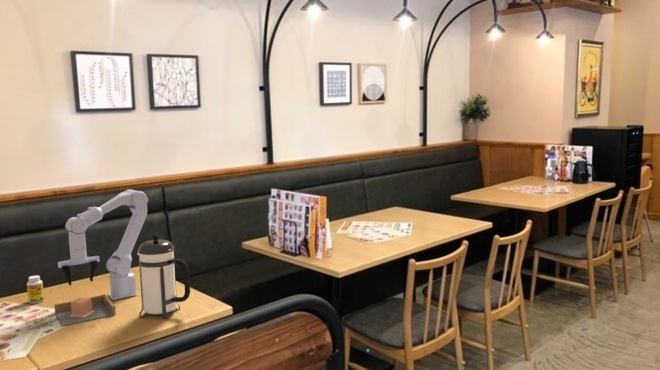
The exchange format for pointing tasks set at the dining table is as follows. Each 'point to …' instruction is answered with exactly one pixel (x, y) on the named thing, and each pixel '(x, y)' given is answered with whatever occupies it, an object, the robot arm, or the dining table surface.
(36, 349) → the dining table surface
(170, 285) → the coffee press
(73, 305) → the cube
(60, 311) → the tray
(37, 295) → the supplement bottle
